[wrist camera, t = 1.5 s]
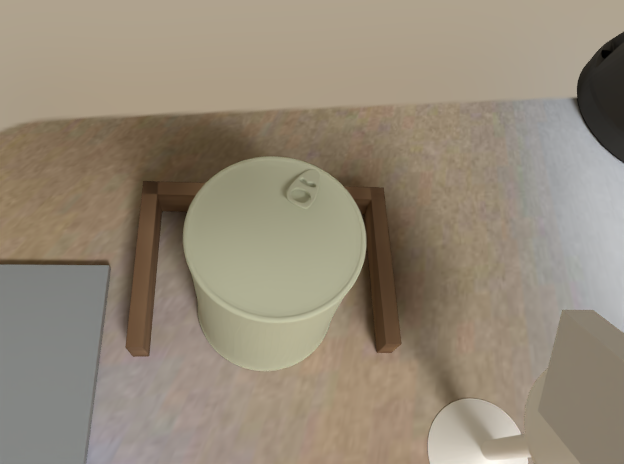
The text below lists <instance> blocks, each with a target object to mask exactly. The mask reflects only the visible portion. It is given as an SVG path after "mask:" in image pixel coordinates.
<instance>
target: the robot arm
mask: <svg viewBox="0 0 624 464" xmlns="http://www.w3.org/2000/svg"><path fill="white" fill-rule="evenodd" d="M577 97H578V103H579V107H580V110H581V113H582V115H583V117H584V119H585V121H586V123H587V125H588V126H589V128H590V129H591V131H592V132H593V134H594V135H595V136H596V137H597V139H598V140H599V141H600V142H601V143H602V144H603V145H604V146H605V147H606V148H607V149H608V150H609V151H610V152H611V153H612V154H614V155H615V156H616V157H617V158H619V159H620V160H622V161H623V162H624V32H623V33H621V34H619V35H618V36H616V37H615V38H613V39H612V40H610V41H609V42H607V43H606V44H605V45H603V46H602V47H601V48H600V49H599V50H598V51H597V52H596V54H595V55H594V56H593V57H592V59H591V60H590V61H589V62H588V63H587V64H586V66H585V67H584V68H583V70H582V72H581V74H580V77H579V80H578V85H577ZM538 412H539V413H540V414H541V416H542V417H543V418H544V419H545V421H546V422H547V423H548V424H549V425H550V427H551V428H552V429H553V430H554V432H555V433H556V434H557V435H558V437H559V438H560V439H561V440H562V442H563V443H564V444H565V445H566V447H567V448H568V449H569V450H570V451H571V453H572V454H573V455H574V456H575V458H576V459H577V460H578V461H579V463H580V464H624V333H623V332H621V331H620V330H619V329H617V328H616V327H615V326H613V325H612V324H611V323H609V322H608V321H607V320H606V319H604V318H603V317H602V316H600V315H599V314H598V313H596V312H595V311H594V310H562V313H561V317H560V322H559V326H558V330H557V334H556V338H555V342H554V346H553V350H552V354H551V358H550V362H549V366H548V371H547V375H546V379H545V383H544V387H543V391H542V395H541V399H540V403H539V407H538Z"/></svg>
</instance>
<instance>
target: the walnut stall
mask: <svg viewBox="0 0 624 464" xmlns="http://www.w3.org/2000/svg"><path fill="white" fill-rule="evenodd" d="M204 184H205V183H191V182H154V181H143V190H142V199H141V209H140V218H139V227H138V237H137V246H136V255H135V265H134V274H133V283H132V292H131V302H130V311H129V320H128V330H127V339H126V349H127V350H128V351H129V352H130V353H131V355H132V356H133V357H135V356H149V352H150V341H151V330H152V318H153V307H154V295H155V284H156V273H157V261H158V250H159V238H160V227H161V216H162V211H181V212H188V209H189V206H190V204H191V202H192V200H193V199H194V197H195V196H196V194H197V193H198V191H199V190H200V189H201V188H202V186H203V185H204ZM344 188H345V189H346V190H347V191H348V192H349V193H350V195H351V196H352V198H353V199H354V201H355V202H356V204H357V206H358V208H359V210H360V212H361V215H364V220H365V231H366V241H367V252H368V263H369V273H370V284H371V295H372V305H373V316H374V326H375V337H376V348H377V353H391V352H393V351H394V350H395V349H396V348H397V347H398V346H400V345H401V336H400V327H399V319H398V310H397V301H396V292H395V284H394V275H393V266H392V257H391V249H390V240H389V231H388V222H387V214H386V205H385V196H384V188H378V187H344Z"/></svg>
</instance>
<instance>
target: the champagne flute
mask: <svg viewBox="0 0 624 464" xmlns="http://www.w3.org/2000/svg"><path fill="white" fill-rule="evenodd" d="M547 371H548V368H547V369H546V370H545V371H544V372H543V373H542V374H541V376H540V377H539V378H538V379H537V380H536V381H535V383H534V385H533V387H532V388H531V390H530V392H529V395H528V399H527V402H526V405H525V416H524V428H525V434H521V433H520V430H519V429H518V427H517V426H516V424H515V423H514V421H513V420H512V419H511V418H510V417H509V416H508V415H507V414H506V413H505V412H504V411H503V410H501V409H500V408H499V407H497V406H495V405H494V404H492V403H490V402H487V401H484V400H481V399H473V398H468V399H460V400H458V401H455V402H452V403H451V404H449V405H447V406H446V407H444V408H443V409H442V410H441V411H440V412H439V413H438V415H437V416H436V418H435V420H434V421H433V423H432V426H431V429H430V431H429V437H428V456H429V461H430V464H528V458H527V457H532V459H533V462H534V464H580V463H579V461H578V460H577V459H576V458H575V456H574V455H573V454H572V453H571V451H570V450H569V449H568V448H567V447H566V445H565V444H564V443H563V442H562V440H561V439H560V438H559V437H558V435H557V434H556V433H555V432H554V430H553V429H552V428H551V427H550V425H549V424H548V423H547V422H546V421H545V419H544V418H543V417H542V416H541V414H540V413H539V412H538V407H539V403H540V399H541V395H542V391H543V387H544V383H545V379H546V375H547Z"/></svg>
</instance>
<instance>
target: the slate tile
mask: <svg viewBox="0 0 624 464" xmlns="http://www.w3.org/2000/svg"><path fill="white" fill-rule="evenodd" d="M110 272H111V268H110V266H109V265H0V464H86V460H87V452H88V445H89V437H90V429H91V421H92V413H93V405H94V397H95V390H96V382H97V374H98V366H99V358H100V350H101V342H102V335H103V327H104V319H105V311H106V303H107V295H108V287H109V279H110Z"/></svg>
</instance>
